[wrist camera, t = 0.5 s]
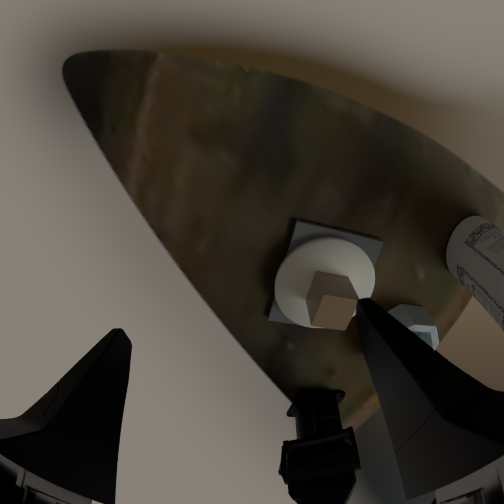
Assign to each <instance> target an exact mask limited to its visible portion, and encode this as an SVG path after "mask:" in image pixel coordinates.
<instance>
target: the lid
mask: <svg viewBox="0 0 504 504" xmlns="http://www.w3.org/2000/svg"><path fill="white" fill-rule="evenodd" d="M374 284H375V272H374V268H373V265H372V262H371V261H370V259H369V257H368V256H367V254H366V253H365V252H364V251H363V249H362V248H360V247H359V246H358V245H357V244H355V243H354V242H352V241H350V240H347V239H344V238H340V237H320V238H315V239H312V240H309V241H307V242H305V243H303V244H301V245H299V246H298V247H296V248H295V249H294V250H292V251H291V252H290V253H289V254H288V255H287V256H286V257H285V258H284V260H283V261H282V263H281V264H280V266H279V268H278V270H277V273H276V277H275V285H274V287H275V297H276V301H277V304H278V306H279V308H280V310H281V311H282V312H283V314H284V315H285V316H286V317H287V318H289V319H290V320H291V321H293V322H295V323H297V324H299V325H302V326H305V327H311V328H331V329H340V330H346V328H347V326H348V324H349V322H350V320H351V318H352V317H353V316H355V315H356V305H357V300H358V299H362V298H367V297H368V298H370V297H371V294H372V292H373V288H374Z"/></svg>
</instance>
